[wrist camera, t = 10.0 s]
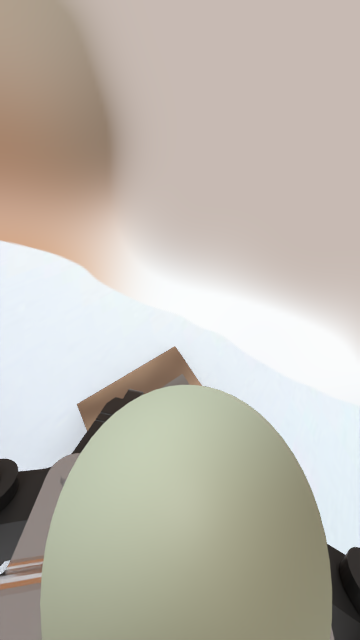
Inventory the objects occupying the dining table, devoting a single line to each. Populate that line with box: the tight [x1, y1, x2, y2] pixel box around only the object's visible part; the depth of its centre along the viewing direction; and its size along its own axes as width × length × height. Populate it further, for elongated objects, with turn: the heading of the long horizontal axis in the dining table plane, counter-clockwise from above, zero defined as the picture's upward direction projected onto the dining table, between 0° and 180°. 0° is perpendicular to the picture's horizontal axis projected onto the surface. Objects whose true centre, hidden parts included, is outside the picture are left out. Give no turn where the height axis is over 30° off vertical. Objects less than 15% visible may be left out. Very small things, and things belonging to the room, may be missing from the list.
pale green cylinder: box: [40, 385, 332, 640], centre depth 8 cm, size 4×4×12 cm
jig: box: [77, 347, 202, 431], centre depth 18 cm, size 16×12×5 cm
